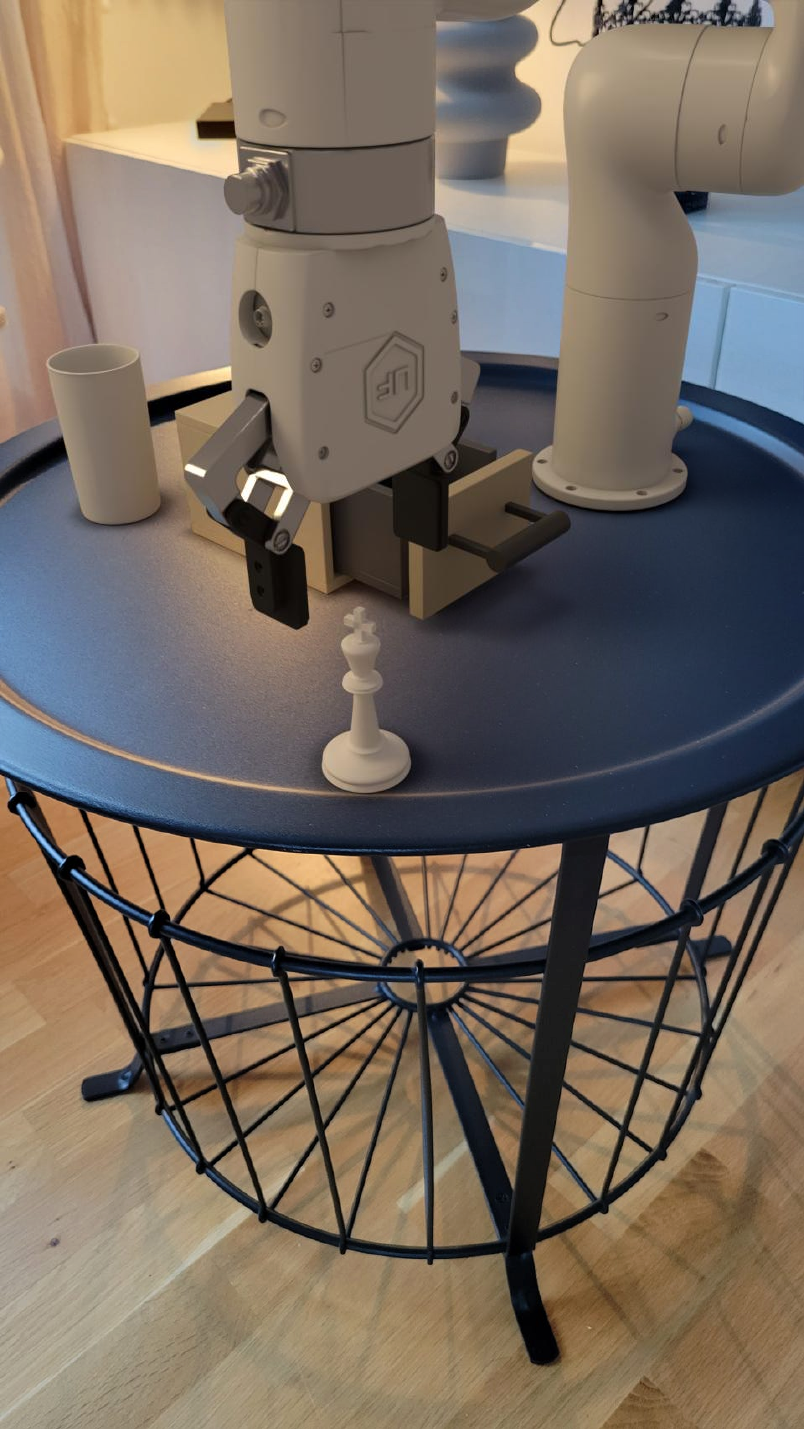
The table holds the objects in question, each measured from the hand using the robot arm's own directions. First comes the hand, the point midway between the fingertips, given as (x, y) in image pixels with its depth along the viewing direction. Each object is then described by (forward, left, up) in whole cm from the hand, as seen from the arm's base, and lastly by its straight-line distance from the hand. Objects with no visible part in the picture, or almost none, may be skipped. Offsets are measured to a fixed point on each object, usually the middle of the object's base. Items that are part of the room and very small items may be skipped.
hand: (354, 578), depth 51 cm
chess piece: (0, 0, -12) cm, 12 cm away
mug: (-12, -38, -12) cm, 42 cm away
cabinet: (-18, -22, -12) cm, 31 cm away
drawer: (-18, -11, -11) cm, 24 cm away
